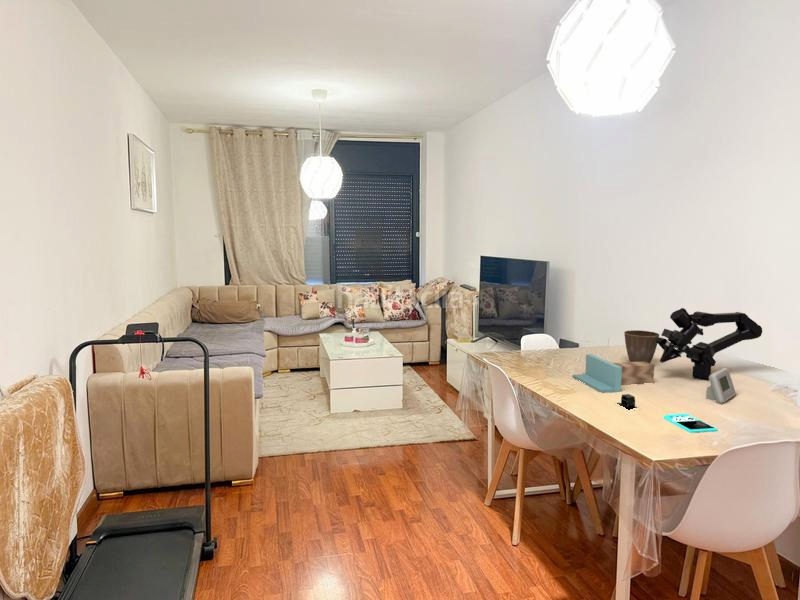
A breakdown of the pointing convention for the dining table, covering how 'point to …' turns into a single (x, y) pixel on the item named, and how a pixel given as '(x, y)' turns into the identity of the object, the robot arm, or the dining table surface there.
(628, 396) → the black block on plate
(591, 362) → the teal board
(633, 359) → the plant pot
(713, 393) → the digital clock
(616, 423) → the dining table surface
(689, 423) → the handheld game console
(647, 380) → the walnut block
